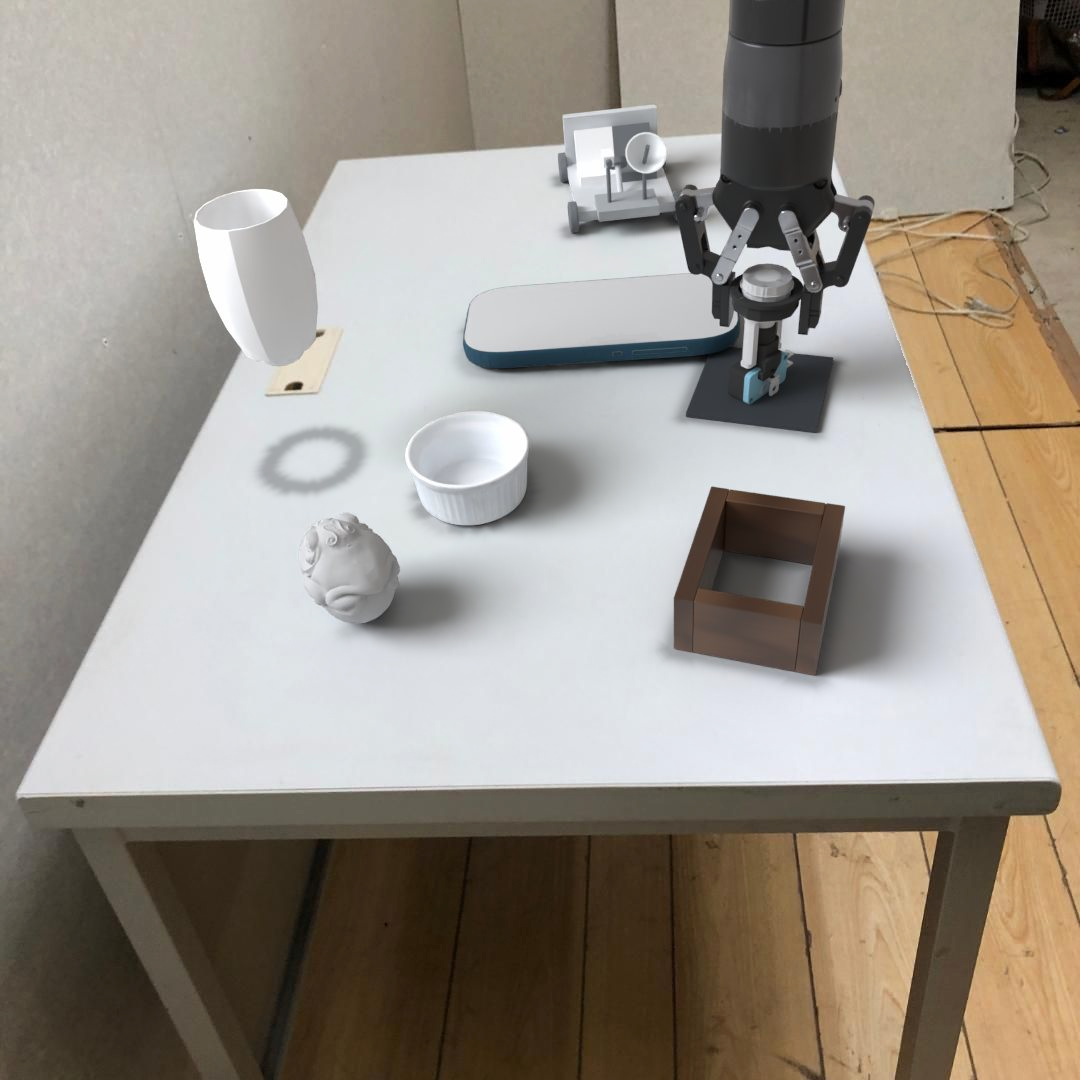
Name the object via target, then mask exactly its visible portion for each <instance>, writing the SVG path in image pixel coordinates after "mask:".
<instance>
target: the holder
mask: <svg viewBox="0 0 1080 1080" xmlns="http://www.w3.org/2000/svg"><path fill="white" fill-rule="evenodd" d="M845 512H846V505H843V504H835V503H828V502H827V503H825V502H821V501H815V500H806V499H800V498H793V497H787V496H786V497H785V496H780V495H773V494H765V493H760V492H759V493H758V492H751V491H745V490H737V489H729V488H727V487H726V488H725V487H720V486H719V487H718V486H711V487H710V489H709V492H708V495H707V497H706V501H705V504H704V507H703V510H702V513H701V515H700V518H699V522H698V524H697V528H696V531H695V533H694V537H693V540H692V543H691V545H690V548H689V550H688V551H689V552H688V554H687V557H686V560H685V563H684V566H683V570H682V572H681V575H680V578H679V581H678V583H677V587H676V590H675V593H674V595H673V649H675V650H679V651H684V652H690V653H694V654H699V655H700V654H701V655H706V656H710V657H715V658H716V657H717V658H721V659H727V660H731V661H732V660H733V661H737V662H741V663H748V664H753V665H759V666H763V667H768V668H774V669H778V670H779V669H780V670H785V671H790V672H795V673H800V674H806V675H811V676H815V675H816V674H817V669H818V663H819V659H820V655H821V654H820V653H821V649H822V644H823V643H822V642H823V638H824V632H825V626H826V622H827V616H828V611H829V607H830V601H831V597H832V591H833V586H834V580H835V574H836V570H837V566H838V559H839V554H840V546H841V539H842V534H843V533H842V532H843V525H844V518H845ZM724 551H726V552H733V553H737V554H744V555H750V556H756V557H763V558H768V559H774V560H782V561H787V562H794V563H800V564H805V565H806V564H807V565H812V567H811V571H810V576H809V582H808V586H807V591H806V595H805V600H804V605H799V604H792V603H787V602H782V601H777V600H776V601H775V600H770V599H766V598H765V599H764V598H758V597H753V596H746V595H742V594H735V593H729V592H723V591H718V590H712V589H713V586H714V583H715V579H716V576H717V573H718V570H719V567H720V563H721V560H722V557H723V554H724Z"/></svg>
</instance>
